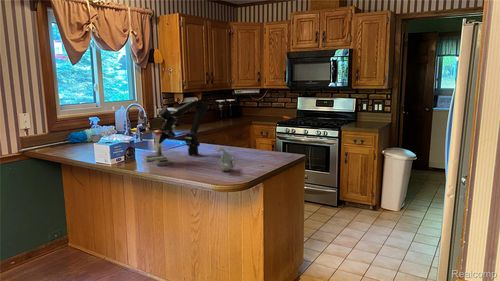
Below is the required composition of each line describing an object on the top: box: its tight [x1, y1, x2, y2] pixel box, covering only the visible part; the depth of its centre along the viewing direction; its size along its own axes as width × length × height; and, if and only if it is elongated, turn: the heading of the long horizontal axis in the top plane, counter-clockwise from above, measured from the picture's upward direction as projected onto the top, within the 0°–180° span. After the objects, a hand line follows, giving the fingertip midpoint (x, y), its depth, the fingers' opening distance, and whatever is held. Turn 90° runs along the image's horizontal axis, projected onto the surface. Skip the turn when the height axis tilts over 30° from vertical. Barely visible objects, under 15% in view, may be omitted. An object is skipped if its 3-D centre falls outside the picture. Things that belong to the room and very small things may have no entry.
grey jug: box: [216, 146, 236, 172], centre depth 219 cm, size 17×10×15 cm, turn 5°
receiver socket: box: [154, 158, 174, 167], centre depth 239 cm, size 9×9×2 cm
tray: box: [144, 153, 168, 163], centre depth 253 cm, size 13×10×2 cm
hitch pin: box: [152, 129, 164, 155], centre depth 241 cm, size 6×6×16 cm
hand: (156, 143), depth 240 cm, fingers closed on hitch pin, 4 cm apart
